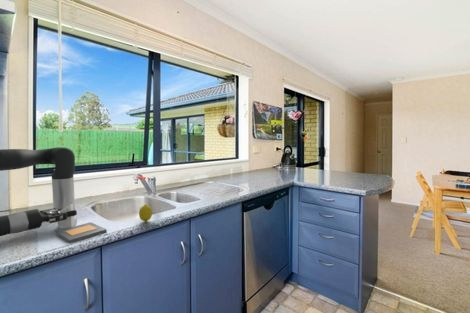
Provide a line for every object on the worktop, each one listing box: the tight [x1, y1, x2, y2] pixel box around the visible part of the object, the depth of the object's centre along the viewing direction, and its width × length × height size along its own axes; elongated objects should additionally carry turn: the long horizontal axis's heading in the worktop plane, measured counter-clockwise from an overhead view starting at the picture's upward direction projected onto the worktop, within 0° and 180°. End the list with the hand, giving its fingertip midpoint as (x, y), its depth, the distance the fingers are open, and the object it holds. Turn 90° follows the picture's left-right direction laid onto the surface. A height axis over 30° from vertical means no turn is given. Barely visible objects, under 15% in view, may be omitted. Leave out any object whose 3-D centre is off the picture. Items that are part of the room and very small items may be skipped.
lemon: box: [138, 204, 153, 223], centre depth 109 cm, size 6×6×8 cm
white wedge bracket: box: [57, 203, 78, 229], centre depth 104 cm, size 4×10×9 cm, turn 92°
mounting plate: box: [55, 221, 108, 244], centre depth 96 cm, size 14×13×1 cm
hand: (72, 210), depth 106 cm, fingers open, 7 cm apart
